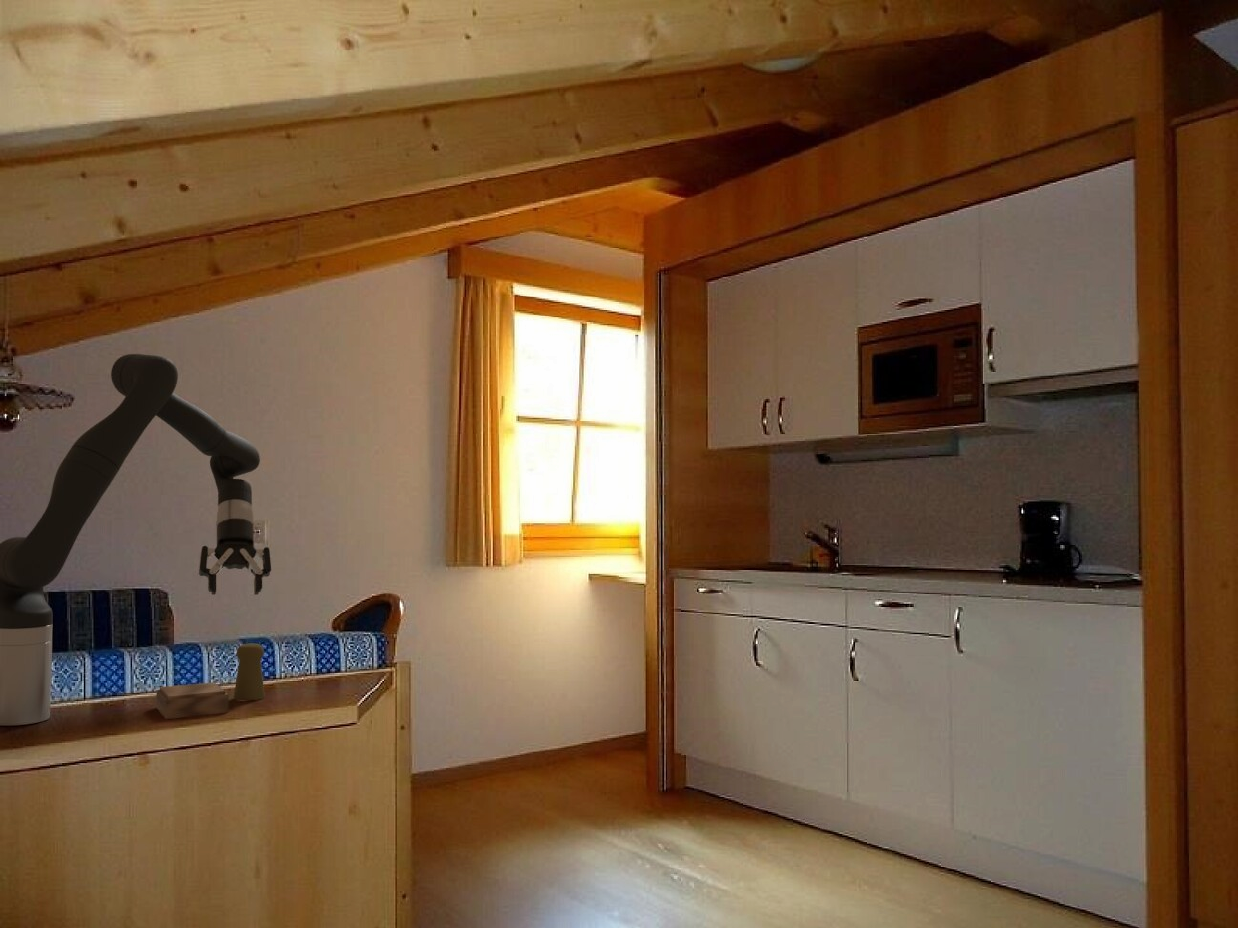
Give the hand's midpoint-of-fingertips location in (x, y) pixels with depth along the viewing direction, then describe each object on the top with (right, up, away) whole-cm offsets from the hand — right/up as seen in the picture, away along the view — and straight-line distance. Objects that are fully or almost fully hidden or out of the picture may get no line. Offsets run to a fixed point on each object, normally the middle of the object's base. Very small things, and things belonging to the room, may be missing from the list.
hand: (235, 593), depth 210 cm
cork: (+6, -21, -7) cm, 23 cm away
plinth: (-1, -20, -19) cm, 28 cm away
